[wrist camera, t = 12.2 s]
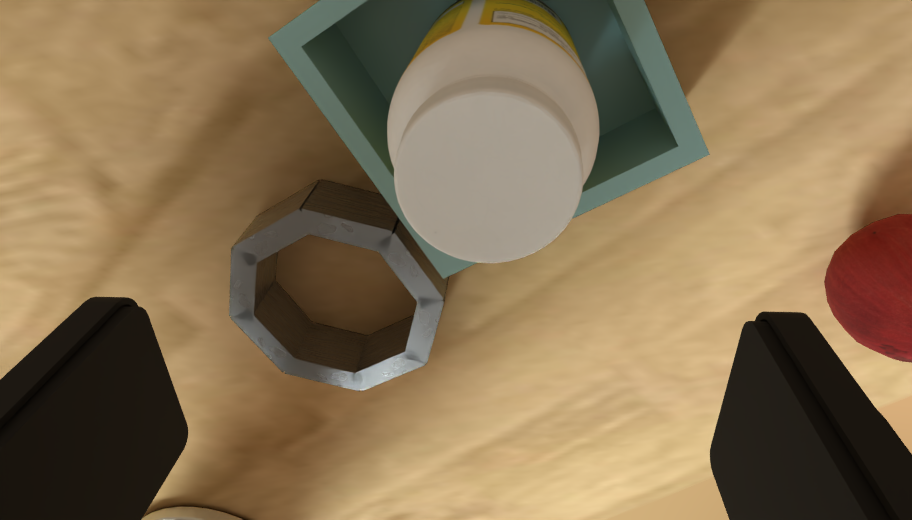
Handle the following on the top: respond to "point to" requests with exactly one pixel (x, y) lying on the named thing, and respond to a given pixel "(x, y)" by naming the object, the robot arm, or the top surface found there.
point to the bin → (599, 49)
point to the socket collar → (319, 346)
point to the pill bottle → (492, 131)
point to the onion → (875, 286)
